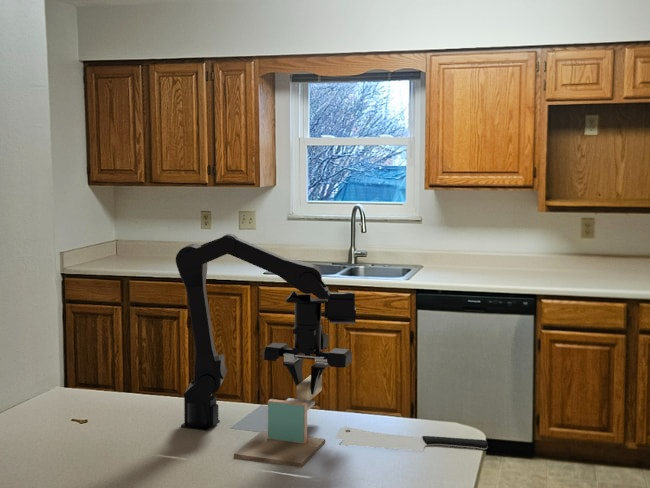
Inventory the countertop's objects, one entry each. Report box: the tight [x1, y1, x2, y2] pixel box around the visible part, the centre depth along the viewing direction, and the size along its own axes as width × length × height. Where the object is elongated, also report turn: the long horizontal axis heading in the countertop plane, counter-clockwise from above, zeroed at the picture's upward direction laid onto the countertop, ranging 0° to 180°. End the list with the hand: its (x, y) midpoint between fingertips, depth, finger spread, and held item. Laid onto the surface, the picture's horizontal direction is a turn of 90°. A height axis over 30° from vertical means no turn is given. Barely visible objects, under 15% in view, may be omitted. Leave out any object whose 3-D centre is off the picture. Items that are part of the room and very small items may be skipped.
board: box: [233, 431, 326, 468], centre depth 156 cm, size 14×14×1 cm
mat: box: [229, 404, 268, 433], centre depth 175 cm, size 10×17×1 cm, turn 162°
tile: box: [267, 398, 308, 444], centre depth 159 cm, size 8×2×8 cm, turn 72°
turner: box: [285, 374, 323, 412], centre depth 168 cm, size 6×16×4 cm, turn 162°
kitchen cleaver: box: [335, 426, 489, 452], centre depth 160 cm, size 31×2×10 cm
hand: (306, 393), depth 170 cm, fingers closed on turner, 2 cm apart
